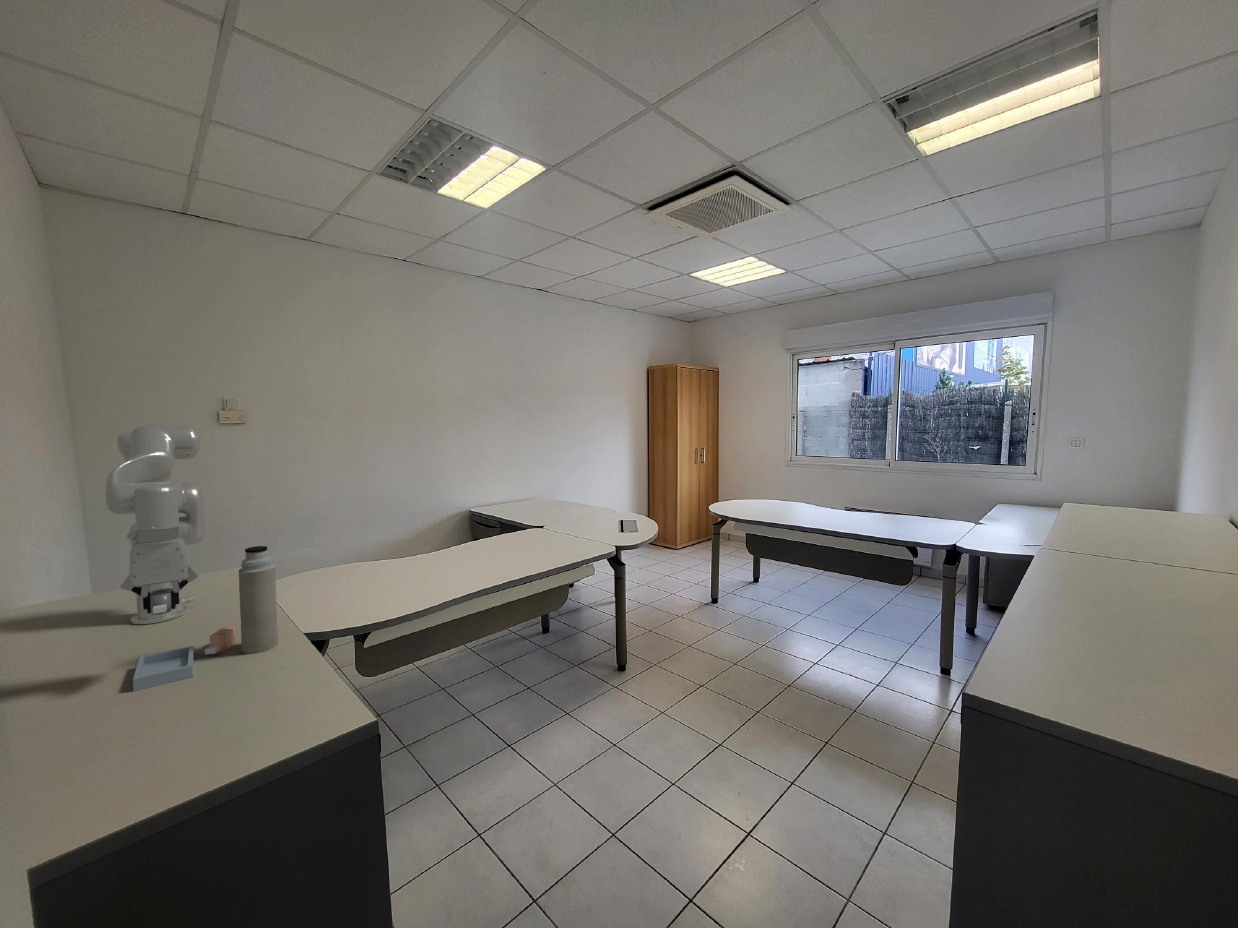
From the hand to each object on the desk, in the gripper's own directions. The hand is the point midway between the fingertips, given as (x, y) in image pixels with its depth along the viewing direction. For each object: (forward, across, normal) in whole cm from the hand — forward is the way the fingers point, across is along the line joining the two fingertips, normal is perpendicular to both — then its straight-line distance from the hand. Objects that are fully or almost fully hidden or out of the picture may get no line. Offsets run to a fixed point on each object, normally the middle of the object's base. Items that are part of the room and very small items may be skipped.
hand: (162, 608), depth 116 cm
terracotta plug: (+16, +11, +7) cm, 20 cm away
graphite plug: (0, 0, -1) cm, 1 cm away
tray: (+16, 0, 0) cm, 16 cm away
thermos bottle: (+16, +19, +2) cm, 25 cm away
